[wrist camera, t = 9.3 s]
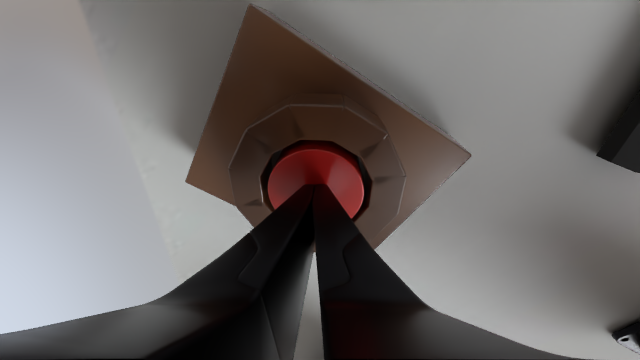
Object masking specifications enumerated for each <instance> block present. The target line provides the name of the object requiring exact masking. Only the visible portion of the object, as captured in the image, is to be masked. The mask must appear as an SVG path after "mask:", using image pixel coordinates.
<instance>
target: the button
mask: <svg viewBox="0 0 640 360" xmlns="http://www.w3.org/2000/svg"><path fill="white" fill-rule="evenodd" d="M304 184H314V185H316V184H327V185H328V187H329V188H330V190H331V191H332V192H333V194H334V195H335V197H336V198H337V199H338V201H339V202H340V204H341V205H342V207H343V208H344V209H345V211H346V212H347V214H348V215H349V216H350V218H352V217H353V216H354V215H355V214H356V213H357V211H358V210H359V208H360V206H361V204H362V201H363V197H364V186H363V180H362V174H361V169H360V164H359V160H358V157H357V155H355V154H353V153H352V152H350V151H348V150H347V149H345V148H343V147H342V146H340V145H338V144H337V143H335V142H333V141H324V140H299V141H297V142H295V143H293V144H291V145H289V146H287V147H285V148H283V150H282V151H281V153H280V155H279V158H278V160H277V162H276V164H275V166H274V168H273V170H272V172H271V174H270V177H269V181H268V194H269V198H270V201H271V203H272V205H273V207H274V209H276V208H278V207H279V206H280V205H281V204H282V203H283V202H285V201H286V200H287V199H288V198H289V197H290V196H291V195H293V194H294V193H295V192H296V191H297V190H298V189H299V188H301V187H302V186H303V185H304Z"/></svg>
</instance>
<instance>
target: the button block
mask: <svg viewBox="0 0 640 360" xmlns="http://www.w3.org/2000/svg"><path fill="white" fill-rule="evenodd" d="M299 140H324V141H333V142H335V143H337V144H338V145H340V146H342V147H343V148H345V149H347V150H348V151H350V152H352V153H353V154H355V155H357V157H358V160H359V164H360V169H361V174H362V180H363V186H364V197H363V201H362V204H361V206H360V208H359V210H358V211H357V213H356V214H355V215H354V216H353V217H352V218H351V219H352V221H353V222H354V223H355V225H356V226H357V228H358V229H359V231H360V232H361V233H362V235H363V236H364V237H365V239H366V240H367V242H368V243H369V244H370V245H371V247H372V248H373V249H376V248H377V247H378V246H379V245H380V244H381V243H382V242H383V241H384V240H385V239H386V238H387V237H388V236H389V235H390V234H391V233H392V232H393V231H394V230H395V229H396V228H397V227H398V226H399V225H400V224H401V223H403V222H404V221H405V220H406V219H407V218H408V217H409V216H410V215H411V214H412V213H413V212H414V211H415V210H416V209H417V208H418V207H419V206H420V205H421V204H422V203H423V202H424V201H425V200H426V199H427V198H428V197H430V196H431V195H432V194H433V193H434V192H435V191H436V190H437V189H438V188H439V187H440V186H441V185H442V184H443V183H444V182H445V181H446V180H447V179H448V178H449V177H450V176H451V175H452V174H453V173H454V172H455V171H457V170H458V169H459V168H460V167H461V166H462V165H463V164H464V163H465V162H466V161H467V160H468V159H469V158H470V157H471V156H472V155H471V154H470V153H469V152H468V151H467V150H466V149H465V148H464V147H462V146H461V145H460V144H459V143H458V142H457V141H456V140H454V139H453V138H452V137H451V136H450V135H448V134H447V133H445V132H444V131H442V130H441V129H439V128H438V127H437V126H435V125H434V124H432V123H431V122H429V121H428V120H426V119H425V118H423V117H422V116H420V115H419V114H418V113H416V112H415V111H413V110H412V109H410V108H409V107H407V106H406V105H404V104H403V103H402V102H400V101H399V100H397V99H396V98H394V97H393V96H391V95H390V94H388V93H387V92H385V91H384V90H383V89H381V88H380V87H378V86H377V85H375V84H374V83H372V82H371V81H369V80H368V79H366V78H365V77H364V76H362V75H361V74H359V73H358V72H356V71H355V70H353V69H352V68H350V67H349V66H348V65H346V64H345V63H343V62H342V61H340V60H339V59H337V58H336V57H334V56H333V55H331V54H330V53H329V52H327V51H326V50H324V49H323V48H321V47H320V46H318V45H317V44H315V43H314V42H313V41H311V40H310V39H308V38H307V37H305V36H304V35H302V34H301V33H299V32H298V31H296V30H295V29H294V28H292V27H291V26H289V25H288V24H286V23H285V22H283V21H282V20H280V19H279V18H277V17H276V16H275V15H273V14H272V13H270V12H269V11H267V10H265V9H262V8H260V7H257V6H254V5H251V4H249V5H248V8H247V11H246V14H245V16H244V19H243V22H242V25H241V28H240V30H239V33H238V36H237V39H236V42H235V44H234V47H233V50H232V53H231V55H230V58H229V61H228V64H227V67H226V69H225V72H224V75H223V78H222V80H221V83H220V86H219V89H218V92H217V94H216V97H215V100H214V103H213V106H212V108H211V111H210V114H209V117H208V119H207V122H206V125H205V128H204V131H203V133H202V136H201V139H200V142H199V145H198V147H197V150H196V153H195V156H194V158H193V161H192V164H191V167H190V170H189V172H188V175H187V178H186V181H185V182H186V183H188V184H191V185H193V186H195V187H197V188H199V189H201V190H203V191H205V192H207V193H209V194H211V195H214V196H216V197H218V198H220V199H222V200H224V201H226V202H228V203H230V204H232V205H234V206H236V207H237V208H238V210H239V211H240V212H241V213H242V214H243V215H244V217H245V218H246V219H247V220H248V221H249V222H250V223H251V225H252V226H253V227H254V228H255V227H256V226H257V225H258V224H259V223H260V222H262V221H263V220H264V219H265V218H266V217H267V216H268V215H270V214H271V213H272V212H273V211H274V210H275V209H274V207H273V205H272V203H271V201H270V198H269V194H268V181H269V177H270V174H271V172H272V170H273V168H274V166H275V164H276V162H277V160H278V158H279V155H280V153H281V151H282V150H283V148H285V147H287V146H289V145H291V144H293V143H295V142H297V141H299ZM313 252H316V248H315V246H314V251H313Z"/></svg>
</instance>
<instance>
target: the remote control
mask: <svg viewBox="0 0 640 360" xmlns="http://www.w3.org/2000/svg"><path fill="white" fill-rule="evenodd" d="M596 156H598V157H601V158H603V159H605V160H607V161H609V162H611V163H614V164H616V165H619V166H621V167H624V168H626V169H629V170H631V171H634V172H637V173H640V91H639V92H638V94H637V95H636V97H635V98H634V100H633V101H632V103H631V104H630V106H629V107H628V109H627V110H626V112H625V113H624V114H623V116H622V117H621V119H620V120H619V122H618V123H617V125H616V126H615V128H614V129H613V131H612V132H611V134H610V135H609V137H608V138H607V140H606V141H605V143H604V144H603V146H602V147H601V149H600V150H599V152H598V153H597V155H596Z"/></svg>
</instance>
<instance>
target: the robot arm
mask: <svg viewBox="0 0 640 360" xmlns="http://www.w3.org/2000/svg"><path fill="white" fill-rule="evenodd" d="M314 246H315V248H316V260H317V273H318V285H319V297H320V309H321V322H322V336H323V350H324V360H592V359H579V358H571V357H566V356H561V355H556V354H552V353H548V352H545V351H541V350H537V349H534V348H531V347H529V346H526V345H523V344H520V343H517V342H515V341H512V340H510V339H507V338H505V337H502V336H499V335H497V334H494V333H492V332H489V331H487V330H484V329H481V328H479V327H476V326H474V325H471V324H468V323H466V322H463V321H461V320H458V319H456V318H453V317H450V316H448V315H445V314H443V313H440V312H438V311H436V310H434V309H433V308H431V307H430V306H428V305H427V304H425V303H424V302H423V301H422V300H421V299H420V298H419V297H418V296H417V295H416V294H414V292H413V291H412V290H411V289H410V288H409V287H408V286H407V285H406V284H405V283H404V282H403V281H402V280H401V279H400V278H399V277H398V276H397V275H396V273H395V272H394V271H393V270H392V269H391V268H390V267H389V266H388V265H387V264H386V263H385V262H384V261H383V260H382V259H381V257H380V256H379V255H378V254H377V253H376V252H375V251H374V249H373V248H372V247H371V245H370V244H369V243H368V242H367V240H366V239H365V237H364V236H363V235H362V233H361V232H360V231H359V229H358V228H357V226H356V225H355V223H354V222H353V221H352V219H351V218H350V216H349V215H348V214H347V212H346V211H345V209H344V208H343V207H342V205H341V204H340V202H339V201H338V199H337V198H336V197H335V195H334V194H333V192H332V191H331V190H330V188H329V187H328V185H327V184H316V185H314V184H304V185H303V186H302V187H301V188H299V189H298V190H297V191H296V192H295V193H294V194H293V195H291V196H290V197H289V198H288V199H287V200H286V201H285V202H283V203H282V204H281V205H280V206H279V207H278V208H276V209H275V210H274V211H273V212H272V213H271V214H270V215H268V216H267V217H266V218H265V219H264V220H263V221H262V222H260V223H259V224H258V225H257V226H256V227H255V228H254V229H252V230H251V231H250V233H248V234H246V235H245V236H244V237H243V238H242V239H241V240H240V241H238V242H237V243H236V244H235V245H233V246H232V247H231V248H230V249H229V250H227V251H226V252H225V253H223V254H222V255H221V256H219V257H218V258H217V259H215V260H214V261H213V262H211V263H210V264H209V265H207V266H206V267H204V268H203V269H202V270H200V271H199V272H197V273H196V274H195V275H193V276H192V277H191V278H189V279H188V280H186V281H185V282H184V283H182V284H181V285H179V286H178V287H177V288H175V289H174V290H172V291H171V292H170V293H168V294H166V295H164V296H162V297H161V298H158V299H156V300H154V301H152V302H149V303H146V304H143V305H139V306H135V307H130V308H125V309H121V310H116V311H112V312H107V313H102V314H98V315H93V316H88V317H84V318H79V319H75V320H71V321H65V322H61V323H57V324H52V325H47V326H43V327H38V328H33V329H28V330H23V331H17V332H11V333H5V334H0V360H293V357H294V352H295V346H296V341H297V336H298V331H299V325H300V320H301V315H302V310H303V304H304V299H305V294H306V288H307V283H308V278H309V273H310V267H311V262H312V257H313V251H314ZM612 337H613V338H614V339H615V340H616V341H617V342H618V343H619V344H621V345H623V346H625V347H627V348H629V349H630V350H632V351H634V352H636V353H638V354H640V322H639V323H637V324H634V325H632V326H629V327H627V328H624V329H622V330H620V331H617V332H615V333H613V334H612Z"/></svg>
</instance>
